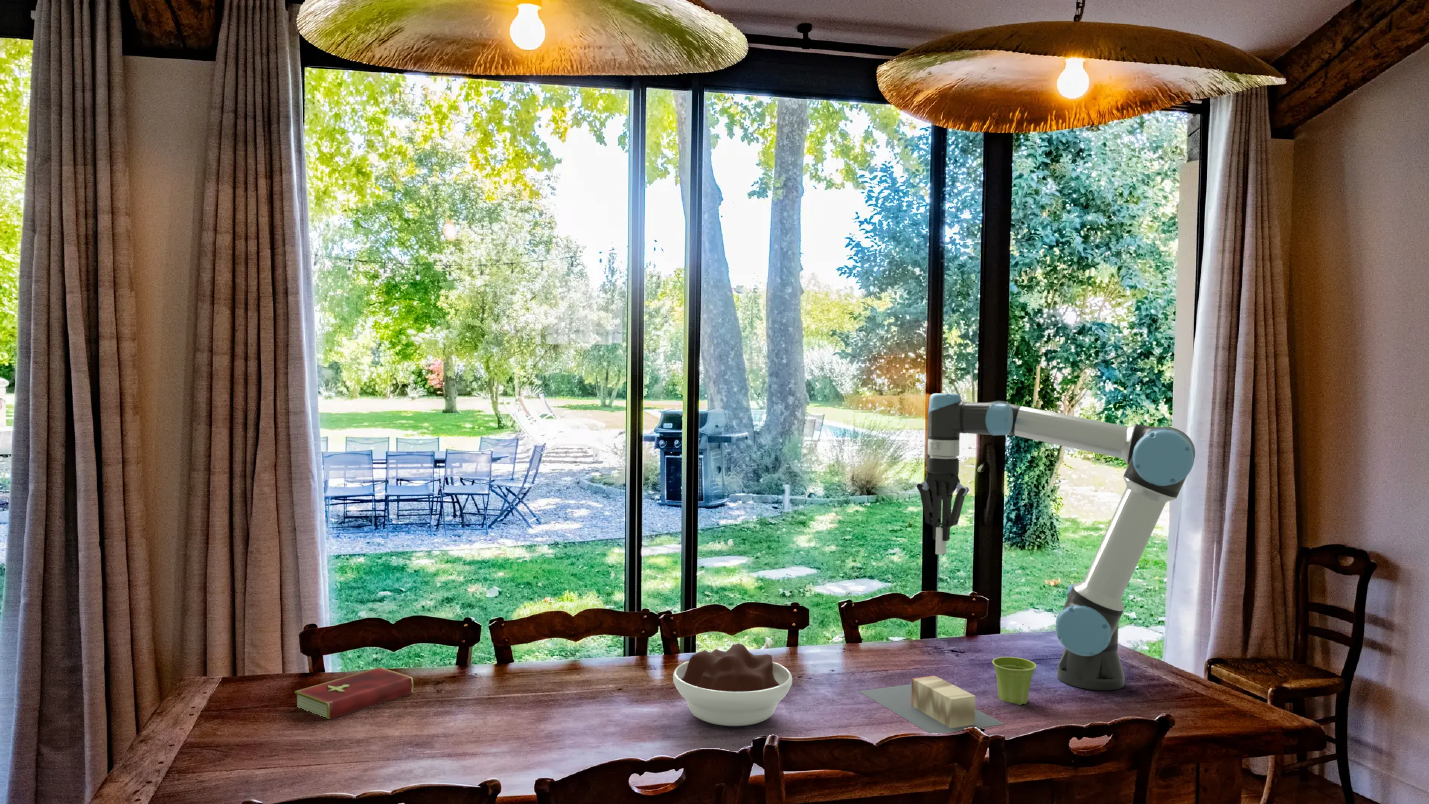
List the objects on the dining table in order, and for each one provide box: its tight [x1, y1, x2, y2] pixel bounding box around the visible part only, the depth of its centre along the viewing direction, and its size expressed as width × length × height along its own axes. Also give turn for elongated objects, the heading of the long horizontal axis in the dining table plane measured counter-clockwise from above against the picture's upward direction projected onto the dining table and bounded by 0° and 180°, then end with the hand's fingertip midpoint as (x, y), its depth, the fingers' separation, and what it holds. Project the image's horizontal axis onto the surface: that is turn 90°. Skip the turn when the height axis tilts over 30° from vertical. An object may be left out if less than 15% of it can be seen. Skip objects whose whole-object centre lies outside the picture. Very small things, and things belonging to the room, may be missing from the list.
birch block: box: [911, 675, 976, 728], centre depth 207 cm, size 6×6×14 cm
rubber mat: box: [858, 683, 1005, 734], centre depth 212 cm, size 28×18×1 cm, turn 23°
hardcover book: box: [294, 666, 414, 720], centre depth 210 cm, size 12×21×4 cm, turn 145°
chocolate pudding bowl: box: [672, 643, 793, 727], centre depth 205 cm, size 25×25×15 cm
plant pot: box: [991, 656, 1037, 706], centre depth 219 cm, size 9×9×9 cm
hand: (940, 553), depth 237 cm, fingers closed
